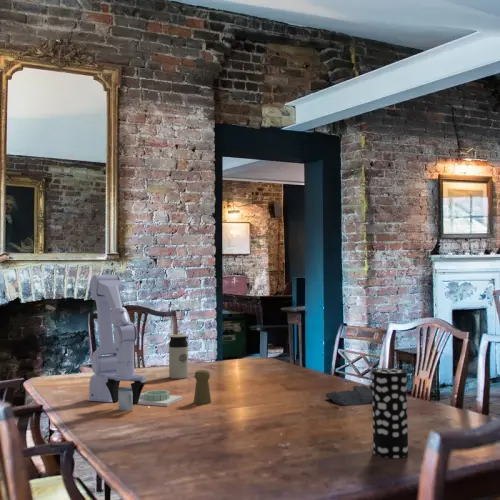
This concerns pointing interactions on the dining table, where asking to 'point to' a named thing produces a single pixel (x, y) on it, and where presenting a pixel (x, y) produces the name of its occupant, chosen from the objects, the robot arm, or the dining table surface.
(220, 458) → the dining table surface
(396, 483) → the dining table surface
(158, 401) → the white base plate
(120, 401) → the tube
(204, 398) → the cork
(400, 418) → the white-spotted black cylinder
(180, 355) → the travel mug
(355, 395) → the dark slate chunk
